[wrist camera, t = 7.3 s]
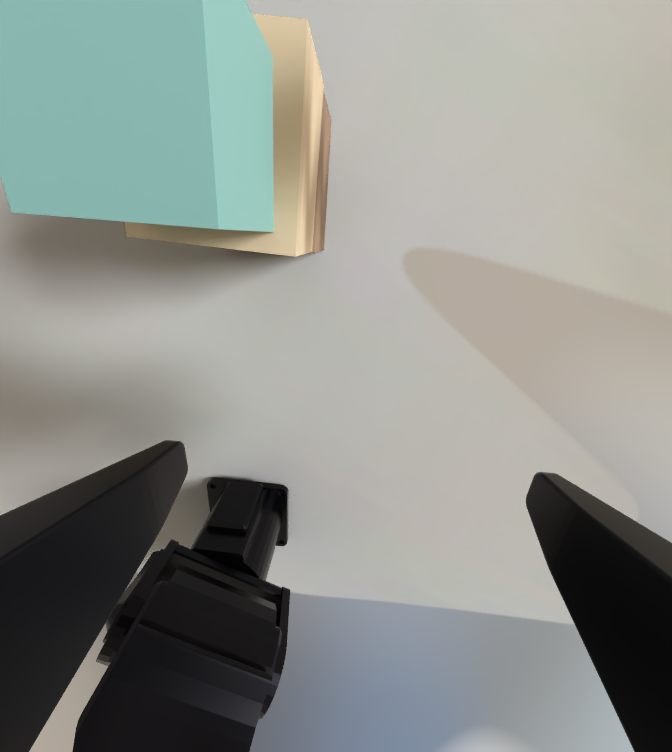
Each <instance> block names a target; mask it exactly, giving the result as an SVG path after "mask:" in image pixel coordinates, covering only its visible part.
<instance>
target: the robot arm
mask: <svg viewBox="0 0 672 752" xmlns="http://www.w3.org/2000/svg"><path fill="white" fill-rule="evenodd" d="M187 471H188V465H187V459H186V453H185V448H184V444H183V443H182V442H180V441H172V440H166V441H163V442H161V443H158V444H156V445H154V446H152V447H150V448H148V449H145V450H143V451H141V452H139V453H137V454H134V455H132V456H130V457H128V458H126V459H123V460H121V461H119V462H117V463H115V464H112V465H110V466H108V467H106V468H104V469H101V470H99V471H97V472H95V473H93V474H91V475H88V476H86V477H84V478H82V479H80V480H77V481H75V482H73V483H71V484H69V485H66V486H64V487H62V488H60V489H58V490H55V491H53V492H51V493H49V494H47V495H44V496H42V497H40V498H38V499H36V500H34V501H31V502H29V503H27V504H25V505H23V506H20V507H18V508H16V509H14V510H12V511H9V512H7V513H5V514H3V515H1V516H0V752H29V751H30V749H31V747H32V745H33V744H34V742H35V740H36V739H37V737H38V735H39V734H40V732H41V730H42V729H43V727H44V725H45V723H46V722H47V720H48V719H49V717H50V715H51V713H52V712H53V710H54V709H55V707H56V705H57V704H58V702H59V700H60V698H61V697H62V695H63V693H64V692H65V690H66V688H67V687H68V685H69V683H70V682H71V680H72V678H73V677H74V675H75V673H76V672H77V670H78V668H79V666H80V665H81V663H82V662H83V660H84V658H85V657H86V655H87V653H88V651H89V650H90V648H91V646H92V645H93V643H94V641H95V640H96V638H97V636H98V635H99V633H100V631H101V630H102V628H103V626H104V624H105V623H106V627H107V634H106V636H105V638H104V640H103V643H105V644H104V646H103V647H102V649H101V651H100V653H99V655H98V657H97V659H96V662H98V663H101V664H104V665H107V666H108V668H107V670H106V672H105V674H104V675H103V677H102V679H101V681H100V682H99V684H98V686H97V688H96V689H95V691H94V693H93V695H92V696H91V698H90V700H89V701H88V703H87V705H86V707H85V709H84V710H83V712H82V714H81V716H80V718H79V720H78V724H77V727H76V733H75V739H74V746H73V752H249V751H250V747H251V743H252V739H253V735H254V732H255V728H256V725H257V722H258V720H259V719H261V718H262V717H263V716H264V715H265V713H266V712H267V710H268V708H269V706H270V704H271V702H272V700H273V697H274V695H275V692H276V689H277V687H278V684H279V680H280V677H281V673H282V669H283V665H284V660H285V655H286V647H287V632H288V616H289V599H290V590H289V589H287V588H285V587H282V588H281V587H278V586H276V585H274V584H271V583H269V582H267V581H266V577H267V574H268V570H269V567H270V563H271V560H272V556H273V553H274V549H275V546H285V545H286V544H287V540H288V489H287V487H285V486H283V485H274V484H265V483H256V482H247V481H238V480H228V479H219V478H212V479H210V480H209V482H208V483H207V490H208V498H209V505H210V515H209V516H208V518H207V520H206V522H205V524H204V525H203V527H202V529H201V531H200V533H199V535H198V536H197V538H196V540H195V542H194V544H193V545H192V547H191V549H189V548H186V547H184V546H182V545H179V542H176V541H174V540H172V539H171V541H170V542H169V544H168V545H167V547H166V548H165V550H164V549H161V550H160V551H156V552H153V553H152V555H151V556H150V558H149V559H148V561H147V562H146V564H145V565H144V567H143V568H142V570H141V571H140V573H139V574H138V575H137V577H136V578H135V579H134V581H133V582H132V583H131V584H130V586H129V587H128V588H127V586H128V584H129V583H130V581H131V579H132V577H133V576H134V574H135V573H136V571H137V569H138V568H139V566H140V564H141V562H142V561H143V559H144V557H145V556H146V554H147V552H148V551H149V549H150V547H151V546H152V544H153V542H154V541H155V539H156V537H157V535H158V534H159V532H160V530H161V528H162V526H163V524H164V522H165V520H166V518H167V516H168V514H169V512H170V509H171V507H172V505H173V503H174V501H175V499H176V497H177V495H178V492H179V490H180V488H181V486H182V484H183V482H184V480H185V477H186V475H187ZM214 484H215V485H214ZM280 491H281V492H280ZM282 492H283V493H282ZM526 506H527V509H528V512H529V515H530V518H531V520H532V523H533V526H534V529H535V532H536V534H537V537H538V540H539V543H540V546H541V548H542V551H543V554H544V557H545V559H546V562H547V565H548V567H549V570H550V572H551V574H552V576H553V579H554V581H555V583H556V585H557V587H558V589H559V592H560V594H561V596H562V598H563V600H564V602H565V604H566V606H567V609H568V611H569V613H570V615H571V617H572V619H573V621H574V624H575V626H576V628H577V630H578V632H579V634H580V636H581V638H582V641H583V643H584V645H585V647H586V649H587V651H588V653H589V656H590V657H591V660H592V662H593V664H594V666H595V668H596V670H597V673H598V675H599V677H600V679H601V681H602V683H603V685H604V687H605V690H606V692H607V694H608V696H609V698H610V700H611V702H612V705H613V707H614V709H615V711H616V713H617V715H618V717H619V720H620V722H621V724H622V726H623V728H624V730H625V732H626V734H627V737H628V739H629V741H630V743H631V745H632V747H633V749H634V751H635V752H672V543H671V542H669V541H667V540H666V539H664V538H662V537H660V536H659V535H657V534H656V533H654V532H652V531H650V530H649V529H647V528H646V527H644V526H643V525H641V524H639V523H638V522H636V521H634V520H633V519H631V518H629V517H628V516H626V515H624V514H623V513H621V512H619V511H618V510H616V509H614V508H613V507H611V506H609V505H608V504H606V503H604V502H603V501H601V500H599V499H598V498H596V497H594V496H593V495H591V494H589V493H588V492H586V491H584V490H583V489H581V488H579V487H578V486H576V485H574V484H573V483H571V482H569V481H568V480H566V479H564V478H563V477H561V476H559V475H558V474H555V473H546V472H538V473H536V474H535V476H534V478H533V480H532V483H531V486H530V488H529V491H528V494H527V497H526ZM126 588H127V589H126ZM125 589H126V590H125ZM124 591H125V592H124Z"/></svg>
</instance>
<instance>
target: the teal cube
mask: <svg viewBox="0 0 672 752" xmlns="http://www.w3.org/2000/svg"><path fill="white" fill-rule="evenodd" d="M0 177H1V180H2V183H3V187H4V190H5V193H6V196H7V200H8V203H9V206H10V209H11V212H12V213H24V214H37V215H49V216H61V217H74V218H86V219H99V220H111V221H123V222H136V223H148V224H161V225H173V226H185V227H198V228H210V229H225V230H243V231H262V232H274V180H273V55H272V53H271V51H270V49H269V47H268V45H267V43H266V41H265V39H264V37H263V35H262V33H261V31H260V29H259V27H258V25H257V23H256V21H255V19H254V17H253V15H252V13H251V10H250V8H249V6H248V4H247V2H246V0H0Z"/></svg>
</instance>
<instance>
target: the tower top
mask: <svg viewBox="0 0 672 752" xmlns="http://www.w3.org/2000/svg"><path fill="white" fill-rule="evenodd" d="M252 15H253V17H254V19H255V21H256V23H257V25H258V27H259V29H260V31H261V33H262V35H263V37H264V39H265V41H266V43H267V45H268V47H269V49H270V51H271V53H272V55H273V180H274V232H262V231H243V230H225V229H210V228H198V227H185V226H173V225H161V224H148V223H136V222H124V224H125V231H126V237H134V238H142V239H151V240H159V241H167V242H176V243H184V244H193V245H201V246H210V247H218V248H227V249H235V250H243V251H252V252H260V253H269V254H277V255H286V256H294V257H296V256H299V255H303V254H306V253H310V252H312V247H313V233H314V219H315V204H316V190H317V176H318V161H319V147H320V133H321V119H322V104H323V90H324V83H323V79H322V75H321V71H320V67H319V63H318V59H317V55H316V51H315V48H314V44H313V40H312V36H311V32H310V28H309V24H308V20H307V19H300V18H289V17H279V16H269V15H259V14H252Z"/></svg>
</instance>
